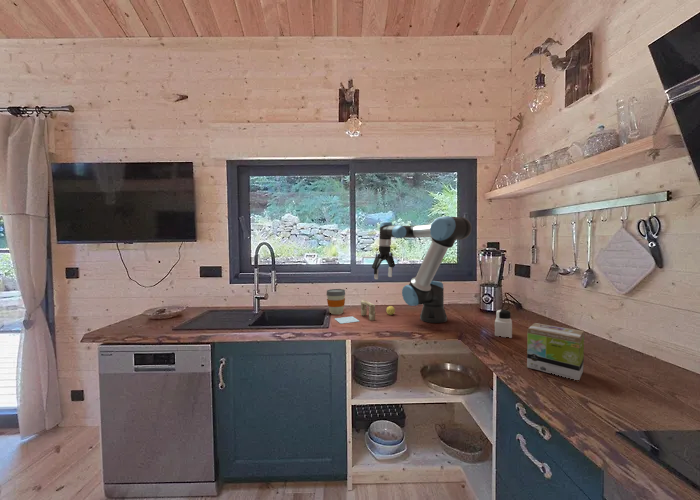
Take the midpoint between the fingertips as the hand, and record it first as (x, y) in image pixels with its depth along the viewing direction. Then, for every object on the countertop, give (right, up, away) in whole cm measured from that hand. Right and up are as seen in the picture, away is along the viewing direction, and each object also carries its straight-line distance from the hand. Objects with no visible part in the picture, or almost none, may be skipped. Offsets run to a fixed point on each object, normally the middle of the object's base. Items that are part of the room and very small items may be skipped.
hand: (383, 278), depth 187 cm
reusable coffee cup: (-31, -24, +4) cm, 39 cm away
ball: (+4, -20, -4) cm, 21 cm away
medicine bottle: (+53, -23, -48) cm, 75 cm away
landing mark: (-24, -24, -15) cm, 37 cm away
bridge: (-11, -23, -10) cm, 28 cm away
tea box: (+50, -24, -86) cm, 103 cm away
